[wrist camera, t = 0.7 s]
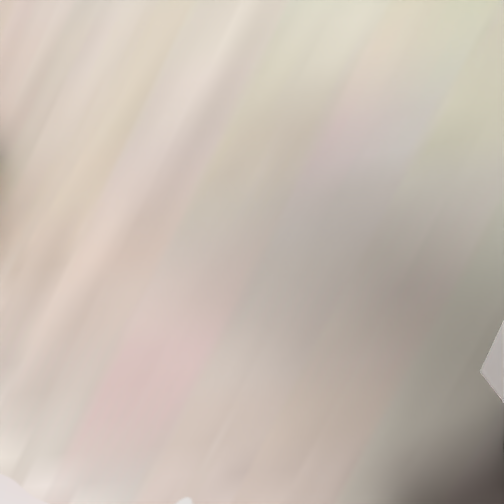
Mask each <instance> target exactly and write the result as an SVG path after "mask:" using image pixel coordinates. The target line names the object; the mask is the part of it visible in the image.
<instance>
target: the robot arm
mask: <svg viewBox="0 0 504 504" xmlns="http://www.w3.org/2000/svg"><path fill="white" fill-rule="evenodd" d="M480 373H481V374H482V375H483V377H484V378H485V379H486V381H487V382H488V383H489V384H490V386H491V387H492V388H493V390H494V391H495V392H496V394H497V395H498V396H499V398H500V399H501V400H502V401H503V403H504V320H503V322H502V324H501V327H500V329H499V331H498V333H497V335H496V337H495V339H494V342H493V344H492V346H491V348H490V350H489V352H488V354H487V357H486V359H485V361H484V363H483V365H482V367H481V369H480Z"/></svg>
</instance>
